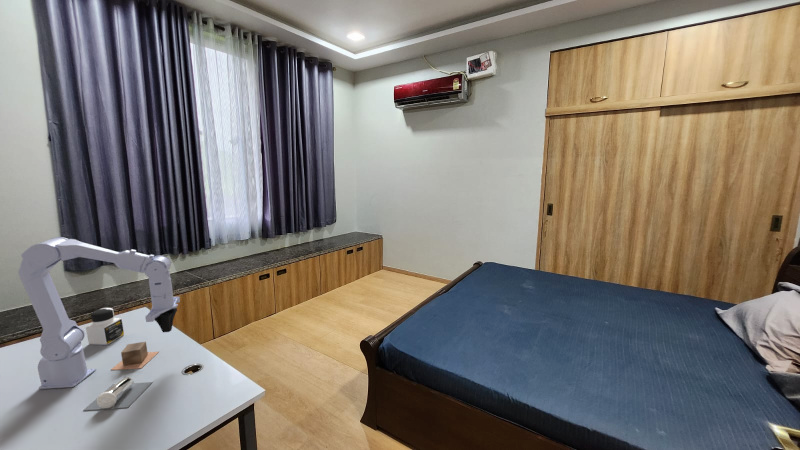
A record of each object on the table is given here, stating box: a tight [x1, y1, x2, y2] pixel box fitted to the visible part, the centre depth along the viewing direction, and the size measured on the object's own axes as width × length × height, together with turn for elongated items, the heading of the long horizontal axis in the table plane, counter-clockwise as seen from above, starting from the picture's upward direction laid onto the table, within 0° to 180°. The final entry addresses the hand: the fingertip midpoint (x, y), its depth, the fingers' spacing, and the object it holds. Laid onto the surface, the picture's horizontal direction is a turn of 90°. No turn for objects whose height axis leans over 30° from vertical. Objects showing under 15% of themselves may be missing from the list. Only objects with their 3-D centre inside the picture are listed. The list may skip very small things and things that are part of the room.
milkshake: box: [96, 376, 135, 411], centre depth 87 cm, size 5×5×10 cm
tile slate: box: [83, 381, 153, 412], centre depth 89 cm, size 11×10×1 cm
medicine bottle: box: [85, 307, 125, 345], centre depth 116 cm, size 7×7×12 cm
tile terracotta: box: [110, 351, 160, 371], centre depth 104 cm, size 9×9×1 cm
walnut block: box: [120, 341, 149, 366], centre depth 104 cm, size 5×5×5 cm
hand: (167, 331), depth 104 cm, fingers closed
